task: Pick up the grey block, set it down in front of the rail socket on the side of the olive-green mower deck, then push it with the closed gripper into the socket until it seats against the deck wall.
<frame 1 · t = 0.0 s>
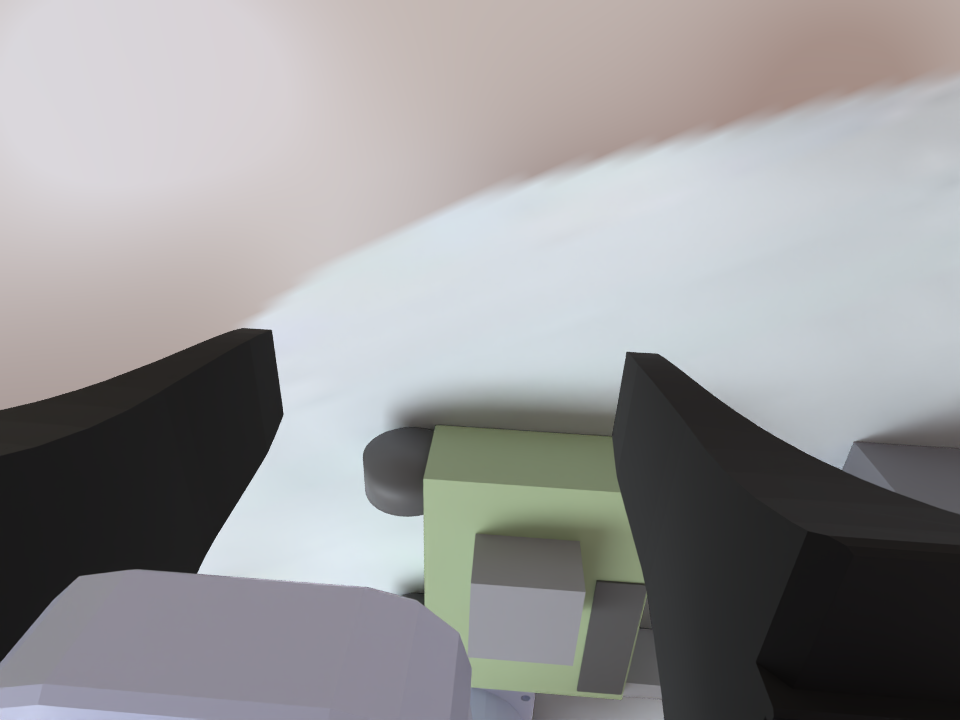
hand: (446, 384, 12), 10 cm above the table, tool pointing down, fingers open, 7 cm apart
grey block: (917, 493, 25), on the table
deck: (532, 538, 28), on the table
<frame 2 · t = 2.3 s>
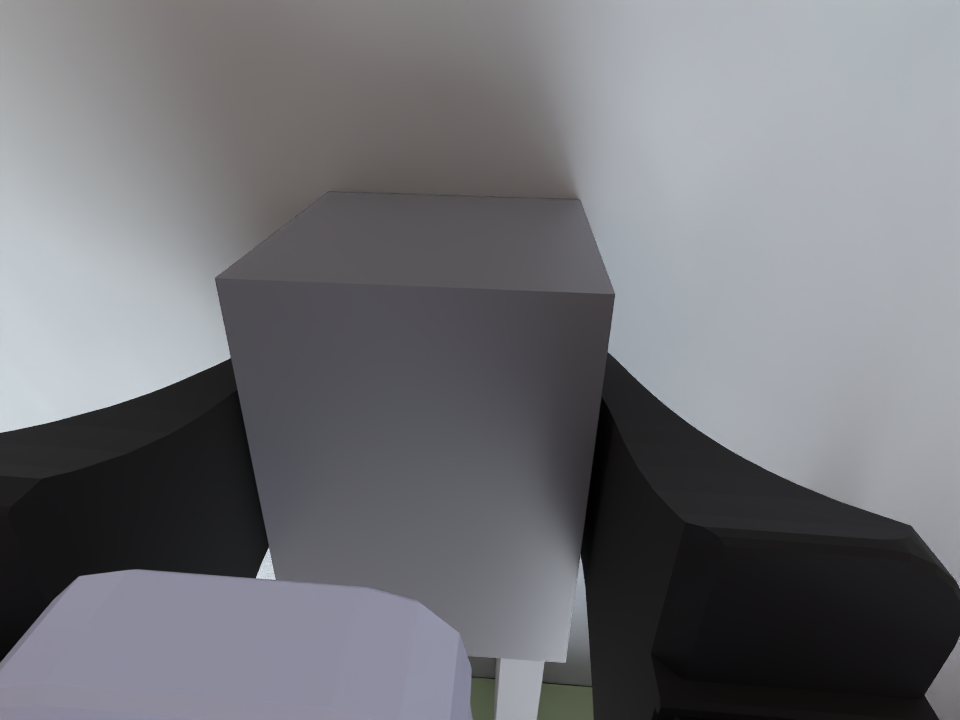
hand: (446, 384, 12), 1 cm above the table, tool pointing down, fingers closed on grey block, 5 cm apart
grey block: (453, 352, 13), on the table, touching gripper
when the fingers open (2 cm above the table, at t = 5.5 s): grey block moves 2 cm, on the table.
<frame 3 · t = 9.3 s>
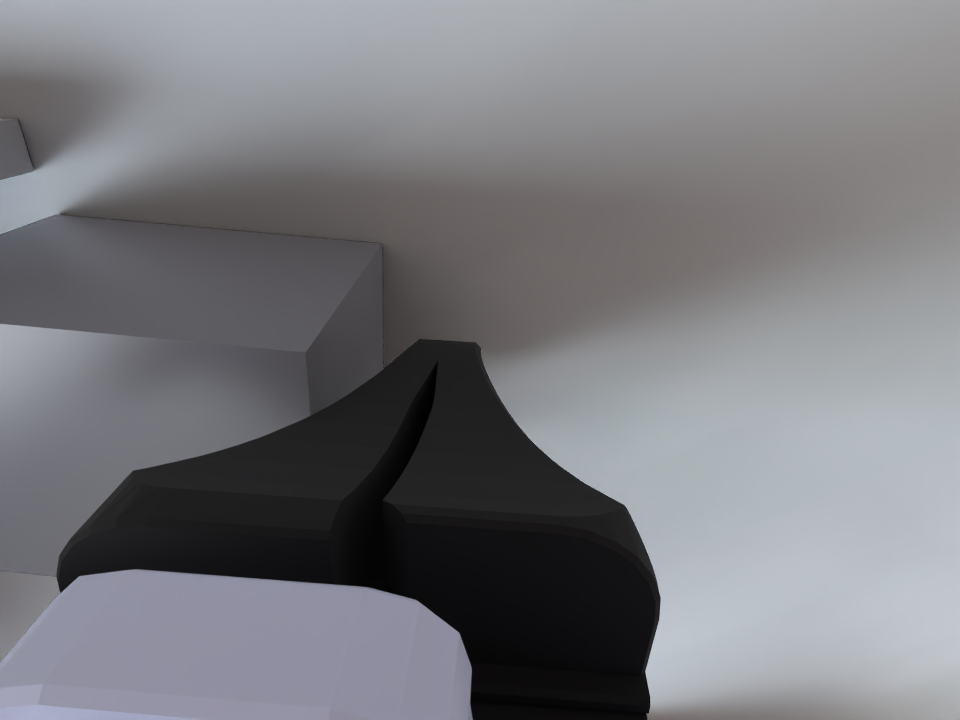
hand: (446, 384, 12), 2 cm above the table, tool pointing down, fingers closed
grey block: (232, 335, 14), on the table, touching gripper
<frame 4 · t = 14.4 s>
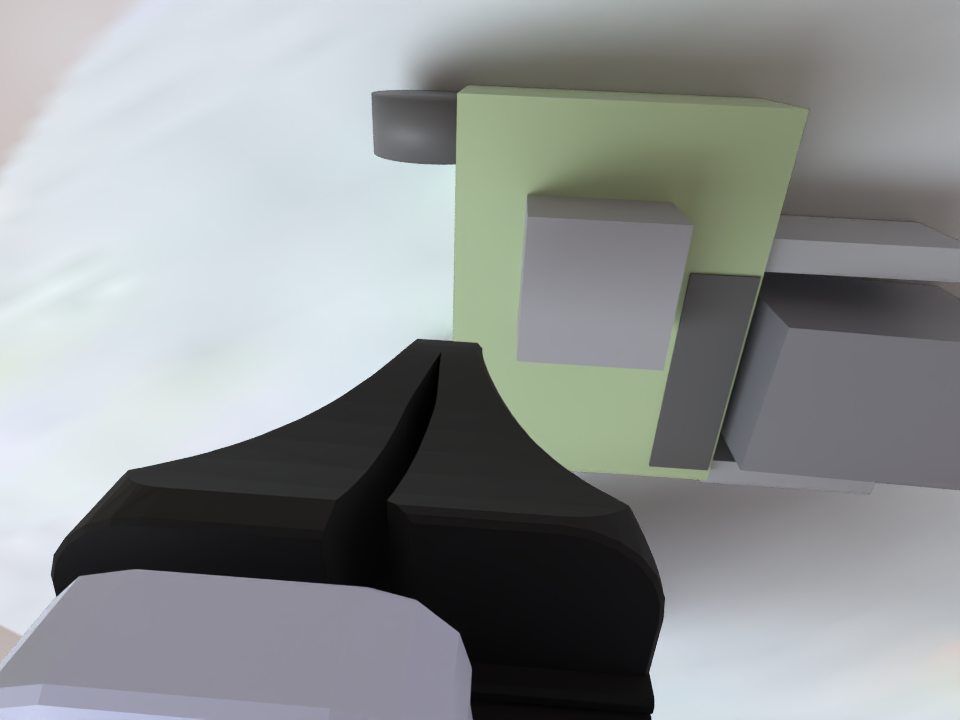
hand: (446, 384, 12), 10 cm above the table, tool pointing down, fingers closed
grey block: (810, 340, 22), on the table
deck: (588, 275, 21), on the table
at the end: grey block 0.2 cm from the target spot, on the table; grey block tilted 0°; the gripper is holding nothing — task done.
